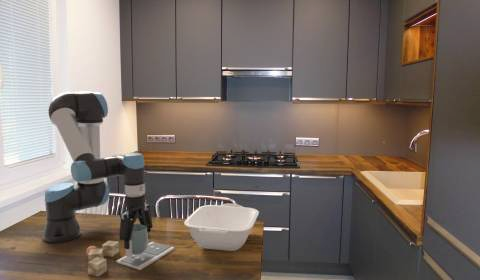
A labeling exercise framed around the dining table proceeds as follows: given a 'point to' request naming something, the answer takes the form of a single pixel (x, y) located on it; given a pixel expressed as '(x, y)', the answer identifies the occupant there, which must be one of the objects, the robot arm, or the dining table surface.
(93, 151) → the robot arm
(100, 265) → the block
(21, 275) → the dining table surface
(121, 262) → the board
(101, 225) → the dining table surface
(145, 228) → the cup
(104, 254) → the block
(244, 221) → the baking dish
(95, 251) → the block
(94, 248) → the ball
